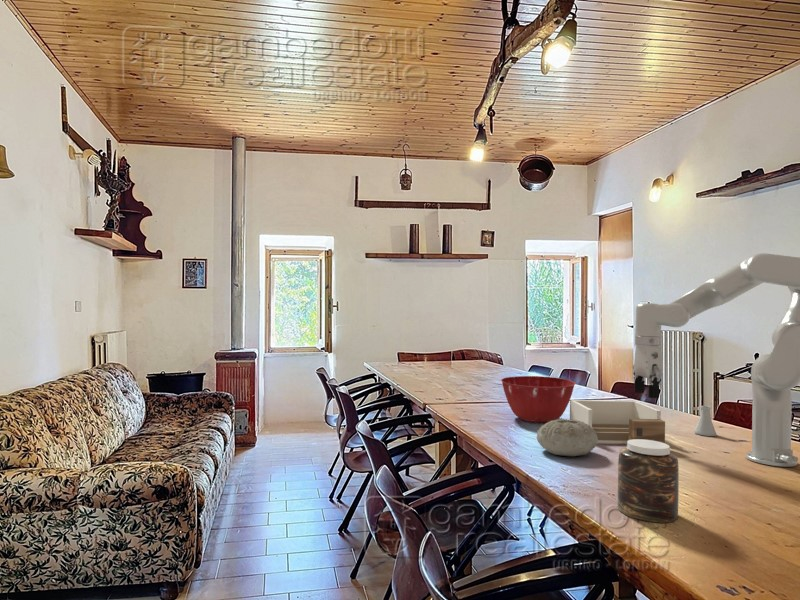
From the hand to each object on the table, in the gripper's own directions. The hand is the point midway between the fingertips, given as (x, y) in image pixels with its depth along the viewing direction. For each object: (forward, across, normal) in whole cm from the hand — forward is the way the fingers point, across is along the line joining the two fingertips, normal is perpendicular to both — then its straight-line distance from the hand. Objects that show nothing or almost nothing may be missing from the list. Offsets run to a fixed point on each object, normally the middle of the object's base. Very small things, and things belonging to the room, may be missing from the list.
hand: (646, 395), depth 172 cm
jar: (+17, -54, +26) cm, 62 cm away
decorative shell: (+18, -7, +28) cm, 33 cm away
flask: (+17, +20, -32) cm, 41 cm away
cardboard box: (+17, 0, 0) cm, 17 cm away
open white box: (+17, +14, +4) cm, 22 cm away
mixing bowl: (+18, +41, +24) cm, 50 cm away
